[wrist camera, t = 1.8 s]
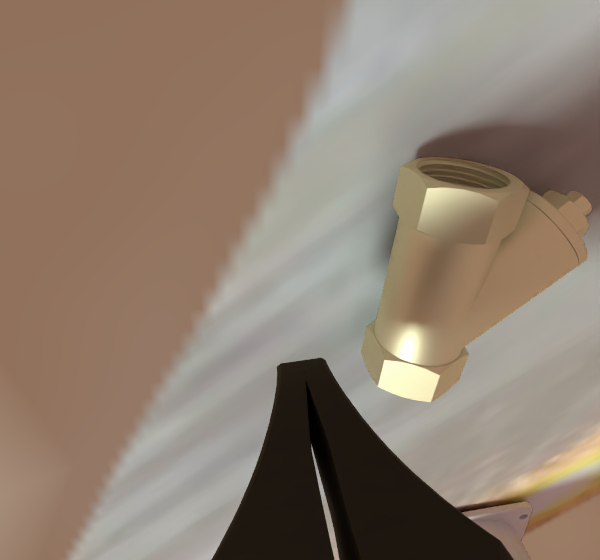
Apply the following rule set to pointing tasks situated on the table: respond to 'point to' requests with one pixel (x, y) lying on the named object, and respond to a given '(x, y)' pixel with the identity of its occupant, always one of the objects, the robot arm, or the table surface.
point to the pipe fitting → (463, 267)
